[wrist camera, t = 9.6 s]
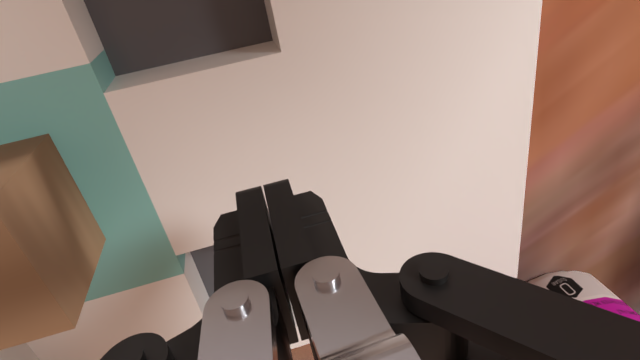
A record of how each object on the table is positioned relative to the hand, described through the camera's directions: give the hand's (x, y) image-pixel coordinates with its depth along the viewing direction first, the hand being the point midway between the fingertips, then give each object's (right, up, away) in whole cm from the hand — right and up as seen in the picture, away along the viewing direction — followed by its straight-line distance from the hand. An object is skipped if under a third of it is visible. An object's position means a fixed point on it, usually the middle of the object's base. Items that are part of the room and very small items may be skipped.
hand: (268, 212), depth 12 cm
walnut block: (-9, 0, +3) cm, 10 cm away
